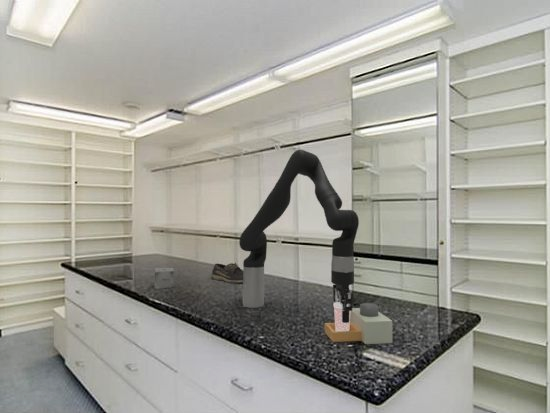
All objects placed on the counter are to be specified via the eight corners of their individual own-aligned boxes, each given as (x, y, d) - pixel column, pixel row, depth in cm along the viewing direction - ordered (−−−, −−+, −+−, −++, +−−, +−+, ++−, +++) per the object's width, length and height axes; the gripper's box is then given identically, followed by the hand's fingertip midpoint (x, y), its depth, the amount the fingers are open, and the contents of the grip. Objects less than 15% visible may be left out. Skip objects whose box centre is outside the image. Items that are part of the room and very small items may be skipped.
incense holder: (154, 289, 188) (154, 270, 188) (154, 286, 196) (154, 267, 196) (173, 288, 191) (174, 269, 191) (173, 285, 199) (173, 266, 199)
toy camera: (335, 345, 111) (336, 313, 112) (322, 328, 127) (322, 300, 127) (392, 343, 114) (392, 311, 114) (371, 326, 130) (372, 299, 130)
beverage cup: (334, 327, 124) (334, 286, 124) (352, 329, 122) (352, 287, 122) (331, 332, 118) (332, 290, 118) (350, 334, 116) (351, 291, 116)
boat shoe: (245, 285, 201) (245, 266, 201) (205, 280, 216) (205, 262, 216) (256, 282, 210) (256, 264, 210) (217, 277, 225) (217, 260, 225)
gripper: (325, 266, 127) (325, 313, 127) (338, 273, 113) (338, 326, 112) (346, 265, 128) (345, 312, 128) (361, 272, 114) (361, 325, 114)
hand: (342, 319), depth 120 cm, fingers closed on beverage cup, 6 cm apart
